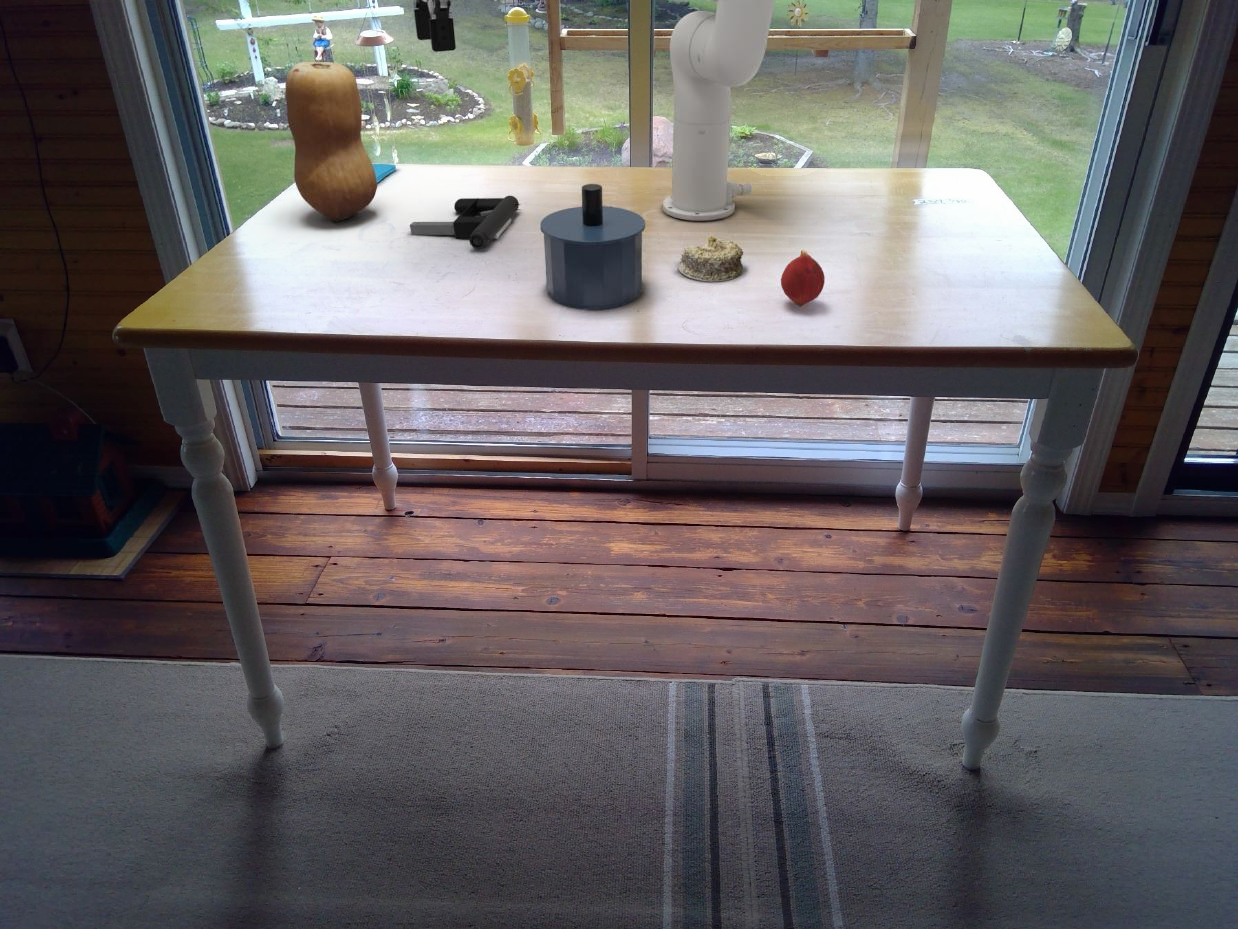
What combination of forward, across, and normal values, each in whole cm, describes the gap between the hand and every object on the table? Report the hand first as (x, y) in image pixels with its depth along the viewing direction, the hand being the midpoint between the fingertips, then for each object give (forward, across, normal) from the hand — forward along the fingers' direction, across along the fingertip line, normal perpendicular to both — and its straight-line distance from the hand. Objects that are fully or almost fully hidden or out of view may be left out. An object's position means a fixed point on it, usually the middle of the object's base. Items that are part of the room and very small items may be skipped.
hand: (436, 44), depth 132 cm
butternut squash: (+31, +25, +15) cm, 42 cm away
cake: (+31, -22, -34) cm, 51 cm away
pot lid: (+21, -23, -14) cm, 34 cm away
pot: (+31, -23, -14) cm, 41 cm away
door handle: (+31, +10, -4) cm, 32 cm away
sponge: (+31, +45, +6) cm, 55 cm away
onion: (+31, -39, -39) cm, 63 cm away
